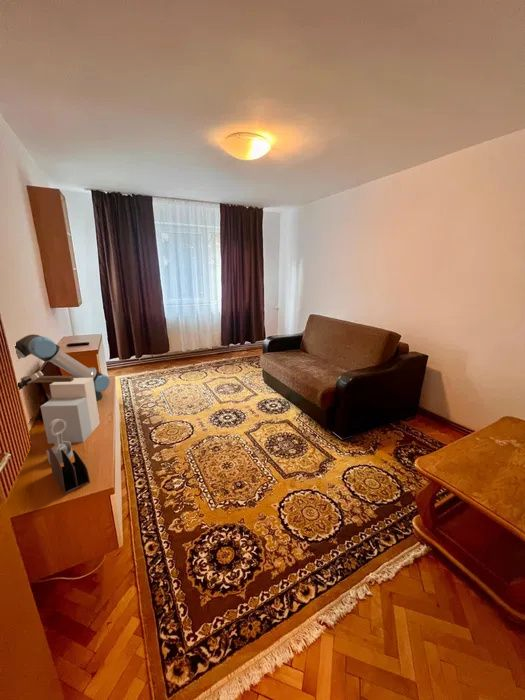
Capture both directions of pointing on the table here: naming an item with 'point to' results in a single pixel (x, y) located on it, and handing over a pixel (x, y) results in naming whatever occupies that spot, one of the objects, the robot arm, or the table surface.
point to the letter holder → (69, 472)
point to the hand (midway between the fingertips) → (39, 374)
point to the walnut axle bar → (51, 379)
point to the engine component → (59, 441)
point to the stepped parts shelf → (72, 409)
